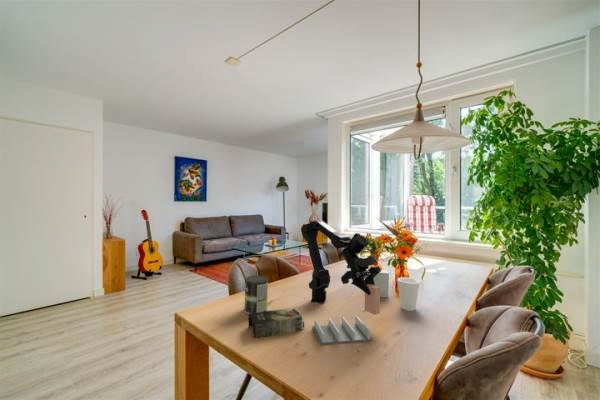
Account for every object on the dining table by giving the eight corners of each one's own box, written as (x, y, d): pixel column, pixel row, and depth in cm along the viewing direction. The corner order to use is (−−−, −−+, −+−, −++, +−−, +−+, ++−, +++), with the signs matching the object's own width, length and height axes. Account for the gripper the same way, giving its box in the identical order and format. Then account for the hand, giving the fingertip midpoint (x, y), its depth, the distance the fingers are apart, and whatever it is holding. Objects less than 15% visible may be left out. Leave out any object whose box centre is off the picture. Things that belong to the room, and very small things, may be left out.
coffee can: (244, 316, 110) (245, 282, 110) (244, 306, 120) (245, 275, 120) (268, 314, 112) (269, 281, 112) (266, 305, 122) (267, 275, 122)
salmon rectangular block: (364, 310, 103) (365, 285, 103) (369, 308, 105) (370, 283, 105) (374, 314, 99) (375, 288, 99) (379, 313, 100) (380, 287, 101)
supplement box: (388, 297, 136) (389, 273, 136) (374, 296, 137) (374, 272, 137) (386, 293, 143) (387, 270, 143) (373, 291, 144) (373, 269, 145)
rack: (312, 327, 101) (312, 318, 101) (358, 324, 104) (358, 315, 104) (320, 344, 89) (320, 334, 89) (372, 340, 92) (372, 330, 92)
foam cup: (418, 306, 125) (419, 279, 125) (418, 313, 116) (419, 284, 116) (397, 302, 128) (398, 276, 129) (396, 309, 120) (396, 281, 120)
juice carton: (296, 319, 108) (296, 305, 108) (305, 330, 99) (305, 314, 99) (248, 328, 100) (248, 312, 100) (253, 341, 91) (253, 323, 91)
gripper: (346, 250, 101) (368, 287, 92) (378, 247, 112) (400, 279, 102) (332, 266, 107) (351, 302, 98) (363, 261, 118) (383, 293, 109)
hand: (372, 293), depth 102 cm, fingers closed on salmon rectangular block, 3 cm apart
